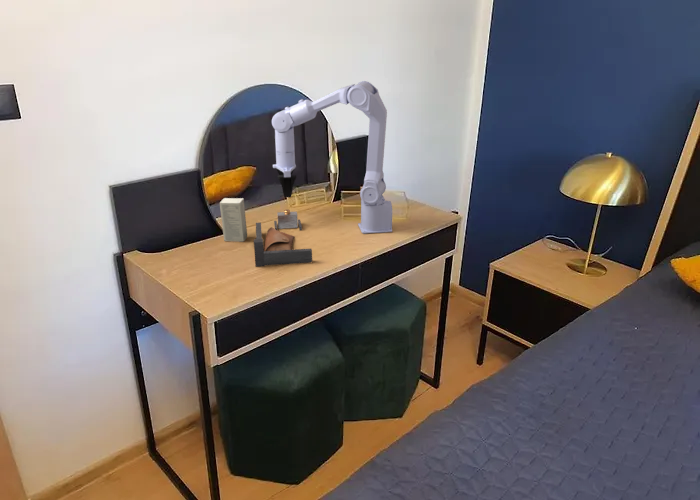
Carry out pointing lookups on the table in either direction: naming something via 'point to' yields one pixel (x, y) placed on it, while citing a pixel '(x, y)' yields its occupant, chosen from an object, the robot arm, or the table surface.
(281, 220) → the silver metal block
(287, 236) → the sunglasses case
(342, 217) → the table surface
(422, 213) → the table surface
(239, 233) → the skincare box
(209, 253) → the table surface
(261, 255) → the press frame
